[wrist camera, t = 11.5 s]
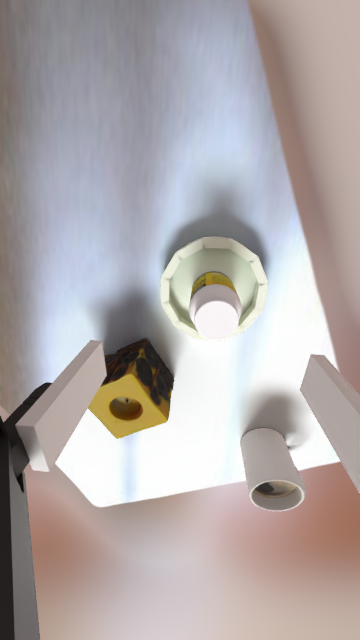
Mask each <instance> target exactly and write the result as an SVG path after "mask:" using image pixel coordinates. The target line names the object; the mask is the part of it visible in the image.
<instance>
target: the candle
mask: <svg viewBox="0 0 360 640" xmlns="http://www.w3.org/2000/svg"><path fill="white" fill-rule="evenodd" d="M104 358H105V366H106V373H107V376H106V377H105V379H104V381H103V382H102V384H101V386H100V388H99V389H98V391H97V393H96V394H95V396H94V398H93V399H92V401H91V403H90V404H89V406H88V409H89V410H90V411H91V412H92V413H93V414H94V415H95V416H96V417H97V418H98V419H99V420H100V421H101V422H102V423H103V424H104V426H105V427H106V428H107V429H108V430H109V431H110V432H111V434H112V435H113V436H114V437H115V438H117V439H118V438H122V437H124V436H127V435H130V434H133V433H135V432H138V431H141V430H144V429H147V428H150V427H154V426H156V425H159V424H162V423H165V422H167V420H168V417H169V411H170V398H171V391H172V389H173V382H174V378H173V376H172V374H171V373H170V371H169V369H168V368H167V367H166V365H165V364H164V362H163V361H162V359H161V358H160V356H159V355H158V354H157V353H156V351H155V350H154V348H153V346H152V345H151V344H150V342H149V340H147V339H142V340H140V341H138V342H136V343H133V344H131V345H128V346H127V347H124V348H122V349H120V350H118V351H117V353H116V354H112V355H109V356H105V357H104Z"/></svg>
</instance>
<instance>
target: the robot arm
mask: <svg viewBox="0 0 360 640" xmlns="http://www.w3.org/2000/svg"><path fill="white" fill-rule="evenodd" d="M106 376H107V373H106V366H105V358H104V351H103V344H102V341H94V340H90V342H89V343H88V344H87V345H86V346H85V347H84V348H83V349H82V351H81V352H80V353H79V354H78V355H77V356H76V357H75V358H74V360H73V361H72V362H71V363H70V364H69V365H68V366H67V367H66V369H65V370H64V371H63V372H62V373H61V374H60V375H59V376H58V377H57V379H56V380H55V381H54V382H53V383H44V384H43V385H41V386H40V387H38V388H36V389H35V390H34V391H33V392H32V393H31V394H30V396H29V397H28V398H27V399H26V400H25V401H24V402H23V404H21V405H20V406H19V407H18V408H17V409H16V410H15V411H14V412H13V413H12V414H11V415H10V416H9V418H8V419H7V420H6V421H5V422H4V423H3V421H2V419H1V416H0V640H40V634H39V623H38V612H37V601H36V590H35V579H34V569H33V557H32V546H31V535H30V525H29V514H28V503H27V492H26V482H25V474H24V471H23V470H24V468H25V467H26V466H27V464H28V463H29V462H30V464H31V467H32V470H37V471H46V472H49V471H50V470H51V468H52V466H53V465H54V463H55V462H56V460H57V458H58V457H59V455H60V453H61V452H62V450H63V448H64V447H65V445H66V443H67V441H68V440H69V438H70V436H71V435H72V433H73V431H74V430H75V428H76V426H77V425H78V423H79V421H80V420H81V418H82V416H83V415H84V413H85V411H86V409H87V408H88V406H89V404H90V403H91V401H92V399H93V398H94V396H95V394H96V393H97V391H98V389H99V388H100V386H101V384H102V382H103V381H104V379H105V377H106ZM300 391H301V392H302V394H303V396H304V398H305V399H306V401H307V403H308V405H309V406H310V408H311V410H312V412H313V413H314V415H315V417H316V419H317V420H318V422H319V424H320V426H321V427H322V429H323V431H324V433H325V434H326V436H327V438H328V440H329V441H330V443H331V445H332V446H333V448H334V450H335V452H336V453H337V455H338V457H339V459H340V460H341V462H342V464H343V466H344V467H345V469H346V471H347V473H348V474H349V476H350V478H351V480H352V481H353V483H354V485H355V487H356V488H357V490H358V492H359V494H360V395H359V394H358V393H357V392H356V391H355V390H354V389H353V387H352V386H351V385H350V384H349V383H348V382H347V381H346V380H345V378H344V377H343V376H342V375H341V374H340V373H339V372H338V371H337V369H336V368H335V367H334V366H333V365H332V364H331V363H330V362H329V360H328V359H327V358H326V357H325V356H324V355H311V356H310V359H309V362H308V366H307V369H306V372H305V375H304V378H303V382H302V385H301V388H300Z"/></svg>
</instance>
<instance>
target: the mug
mask: <svg viewBox="0 0 360 640" xmlns="http://www.w3.org/2000/svg"><path fill="white" fill-rule="evenodd" d="M240 444H241V450H242V456H243V462H244V468H245V474H246V480H247V485H248V491H249V496H250V499H251V501H252V503H253V504H254V505H256V506H257V507H259V508H261V509H264V510H268V511H285V510H290V509H292V508H295V507H296V506H298V505H299V504H300V503H301V502H302V501H303V499H304V498H305V495H306V490H305V485H304V482H303V479H302V477H301V475H300V473H299V471H298V470H297V468H296V467H295V466H294V464H293V461H292V458H291V456H290V453H289V450H288V448H287V445H286V442H285V440H284V438H283V436H282V435H281V434H280V433H279V432H277V431H276V430H273V429H270V428H257V429H253V430H251V431H249V432H247V433H246V434H245V435H244V436H243V437H242V439H241V443H240Z"/></svg>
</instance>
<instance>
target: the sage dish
mask: <svg viewBox="0 0 360 640" xmlns="http://www.w3.org/2000/svg"><path fill="white" fill-rule="evenodd" d="M208 271H219V272H222V273H224V274H225V275H227V276H228V277H229V278H230V280H231V281H232V283H233V285H234V287H235V289H236V292H237V294H238V296H239V298H240V301H241V305H242V313H241V317H240V319H239V324H238V327H237V329H236V331H235V332H234V333H233V334H232V335H231V336H234V335H236V334H239V333H241V332H244V331H245V330H247V329H248V327H249V326H250V325H251V324H252V323H253V322H254V320H255V319H256V318H257V317H258V316H259V315H260V314H261V312H262V311H263V309H264V304H265V299H266V294H267V289H268V280H267V278H266V275H265V273H264V270H263V267H262V265H261V262H260V260H259V257H258V256H257V255H255V254H254V253H252V252H251V251H250V250H249V249H247V248H246V247H245V246H244V245H242V244H240V243H239V242H237V241H235V240H234V239H232V238H225V237H219V236H209V237H203V238H202V237H201V238H200V239H197V240H194V241H192V242H190V243H188V244H187V245H185V246H183V247H182V248H181V249H179V250H178V251H176V253H175V254H174V256H173V258H172V259H171V260H170V262H169V264H168V266H167V268H166V269H165V271H164V273H163V274H162V276H161V303H162V304H161V305H162V307H163V308H164V310H165V312H166V314H167V315H168V317H169V319H170V320H171V322H172V324H173V325H174V326H175V327H176V328H178V329H180V330H181V331H183V332H185V333H186V334H188V335H190V336H192V337H193V338H196V339H205V340H210V339H207V338H205V337H203V336H202V335H201V334H200V333H199V332H198V331H197V329H196V327H195V325H194V324H193V322H192V320H191V318H190V314H189V304H190V297H191V291H192V286H193V284H194V282H195V280H196V279H197V278H198V277H199V276H200V275H201V274H203V273H205V272H208ZM231 336H229V337H231ZM229 337H227V338H229ZM225 339H226V338H225ZM222 340H224V339H222ZM219 341H221V340H219Z"/></svg>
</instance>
